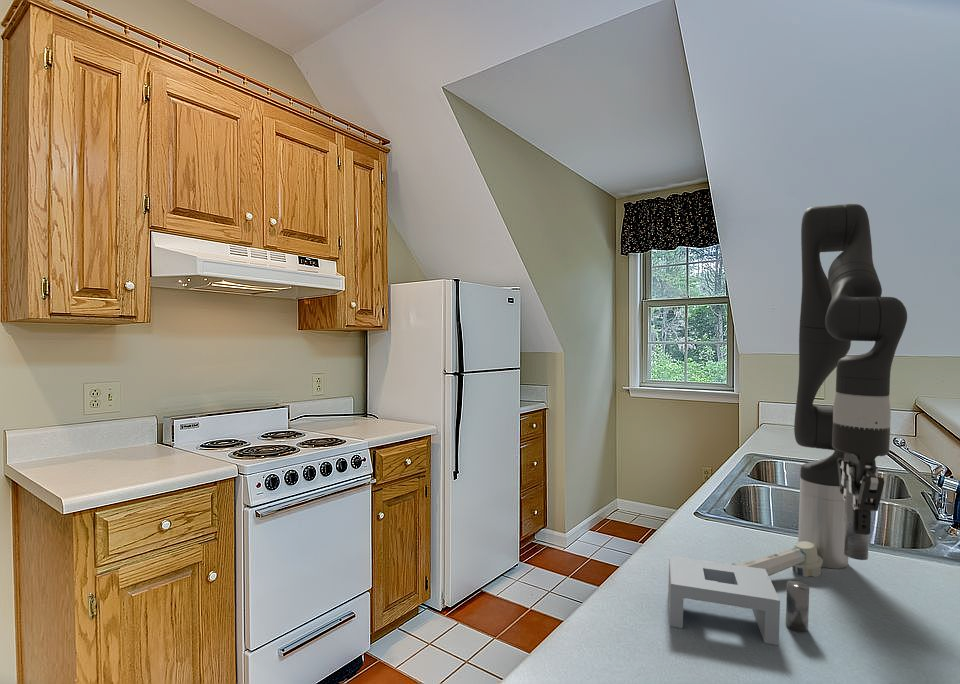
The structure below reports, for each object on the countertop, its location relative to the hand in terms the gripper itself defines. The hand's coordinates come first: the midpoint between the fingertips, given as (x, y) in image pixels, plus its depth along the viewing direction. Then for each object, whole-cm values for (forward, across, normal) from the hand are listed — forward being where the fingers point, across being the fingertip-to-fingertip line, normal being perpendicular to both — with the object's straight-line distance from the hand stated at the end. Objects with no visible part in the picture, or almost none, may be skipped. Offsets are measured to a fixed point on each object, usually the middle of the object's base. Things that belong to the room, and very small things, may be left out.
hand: (856, 528), depth 88 cm
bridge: (+17, -1, +20) cm, 27 cm away
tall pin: (+4, 0, 0) cm, 4 cm away
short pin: (+17, 0, +8) cm, 19 cm away
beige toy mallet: (+18, +18, +8) cm, 27 cm away
